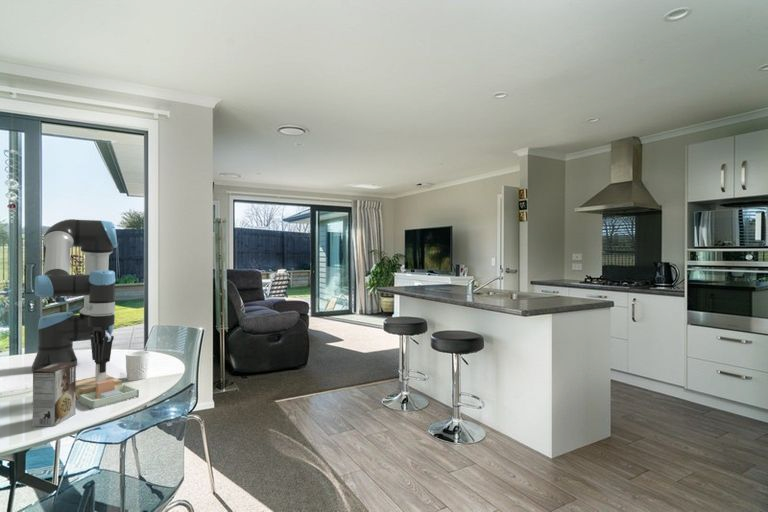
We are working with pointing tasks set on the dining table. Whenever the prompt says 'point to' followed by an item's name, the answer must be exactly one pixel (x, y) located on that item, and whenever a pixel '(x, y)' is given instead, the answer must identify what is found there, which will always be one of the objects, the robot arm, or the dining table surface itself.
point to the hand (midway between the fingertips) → (100, 381)
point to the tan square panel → (91, 385)
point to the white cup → (137, 365)
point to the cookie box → (54, 394)
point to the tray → (93, 402)
